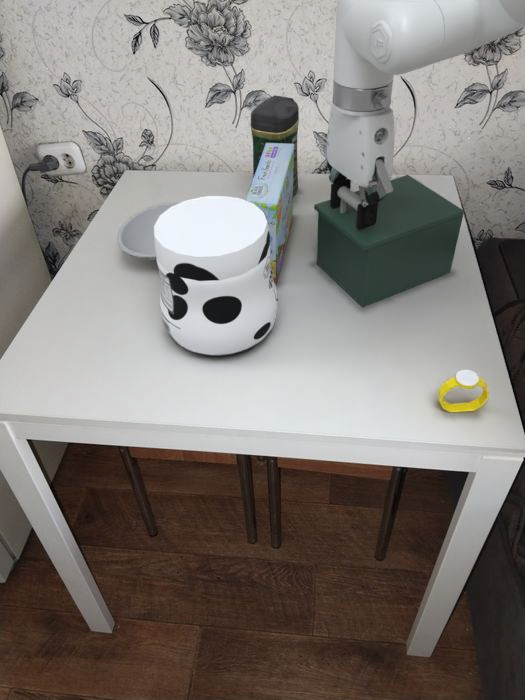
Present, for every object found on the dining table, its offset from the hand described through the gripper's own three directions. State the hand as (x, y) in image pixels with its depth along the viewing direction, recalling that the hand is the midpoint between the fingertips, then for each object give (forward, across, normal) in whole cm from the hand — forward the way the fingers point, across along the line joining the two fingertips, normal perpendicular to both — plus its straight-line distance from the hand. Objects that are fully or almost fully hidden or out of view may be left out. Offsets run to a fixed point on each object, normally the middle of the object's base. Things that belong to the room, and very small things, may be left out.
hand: (352, 214), depth 88 cm
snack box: (+13, +15, +6) cm, 20 cm away
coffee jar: (+13, +31, -4) cm, 33 cm away
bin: (+12, 0, -7) cm, 14 cm away
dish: (+13, +24, +23) cm, 35 cm away
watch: (+13, -30, +3) cm, 33 cm away
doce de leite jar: (+13, 0, +23) cm, 26 cm away
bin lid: (+2, 0, -7) cm, 7 cm away
